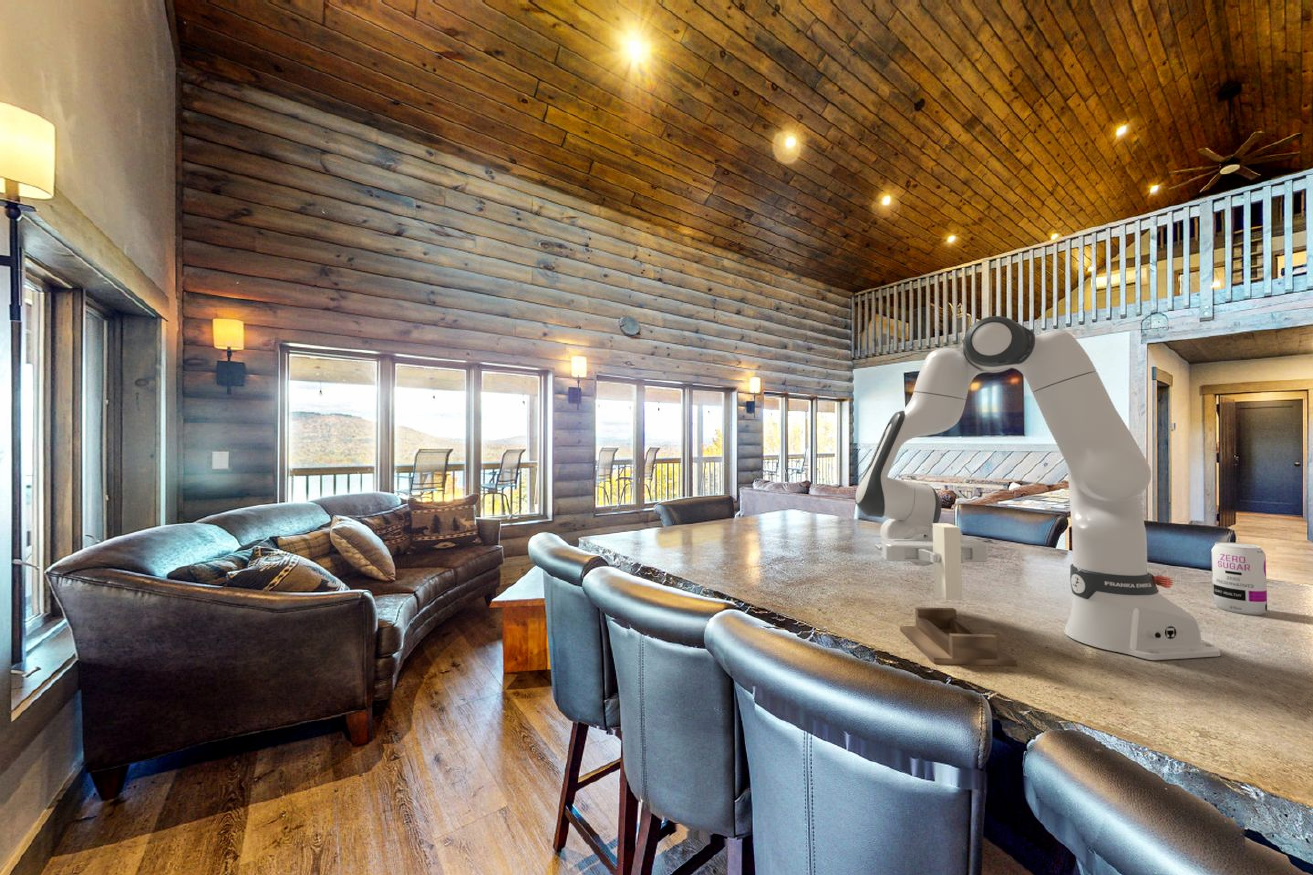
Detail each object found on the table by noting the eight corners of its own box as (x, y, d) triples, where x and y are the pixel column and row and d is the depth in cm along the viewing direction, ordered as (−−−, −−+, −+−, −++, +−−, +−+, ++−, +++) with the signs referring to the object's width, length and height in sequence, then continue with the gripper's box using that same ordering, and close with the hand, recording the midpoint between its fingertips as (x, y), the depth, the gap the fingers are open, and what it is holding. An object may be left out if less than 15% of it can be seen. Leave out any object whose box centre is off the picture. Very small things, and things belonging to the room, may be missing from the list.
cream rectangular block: (949, 592, 102) (947, 523, 102) (962, 599, 97) (960, 527, 97) (934, 591, 102) (932, 523, 103) (945, 599, 97) (943, 527, 98)
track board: (969, 632, 105) (969, 608, 105) (1016, 665, 89) (1016, 637, 89) (900, 630, 106) (899, 606, 106) (934, 663, 90) (933, 635, 90)
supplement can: (1257, 607, 117) (1255, 543, 117) (1275, 618, 110) (1272, 550, 111) (1207, 602, 122) (1205, 540, 122) (1221, 612, 115) (1219, 546, 115)
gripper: (871, 530, 114) (893, 542, 100) (966, 530, 112) (1002, 542, 98) (872, 558, 114) (894, 574, 100) (967, 559, 112) (1003, 575, 98)
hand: (949, 558), depth 99 cm, fingers closed on cream rectangular block, 3 cm apart
